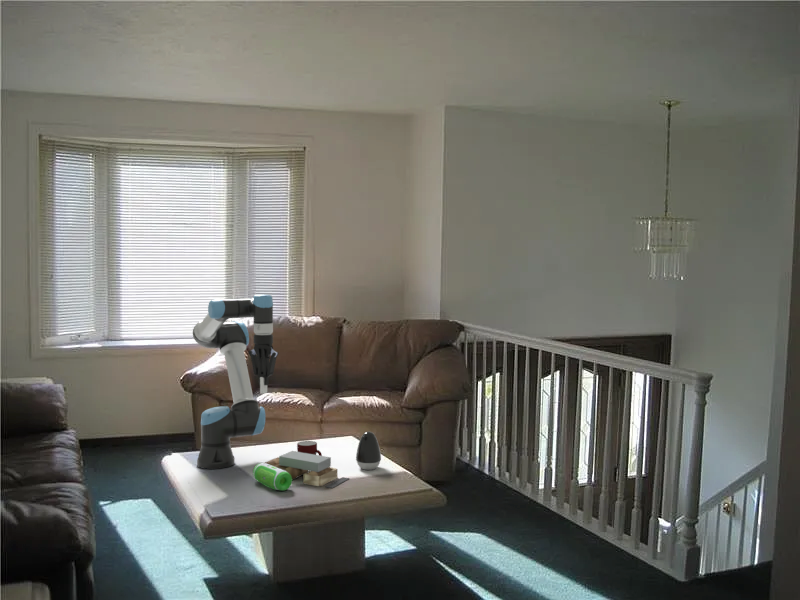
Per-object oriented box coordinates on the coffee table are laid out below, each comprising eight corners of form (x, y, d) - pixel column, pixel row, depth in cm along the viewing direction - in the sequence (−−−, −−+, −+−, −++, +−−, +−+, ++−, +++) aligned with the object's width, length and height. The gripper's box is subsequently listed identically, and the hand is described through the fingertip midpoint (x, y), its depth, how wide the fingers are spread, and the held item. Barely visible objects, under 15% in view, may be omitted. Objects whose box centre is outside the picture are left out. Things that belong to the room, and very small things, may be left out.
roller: (304, 474, 282) (314, 469, 280) (318, 467, 291) (328, 463, 289) (310, 486, 281) (320, 481, 279) (324, 479, 290) (333, 474, 288)
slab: (279, 465, 288) (279, 456, 288) (292, 459, 296) (292, 450, 296) (318, 472, 280) (318, 463, 280) (330, 466, 288) (330, 457, 288)
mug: (325, 465, 306) (325, 441, 305) (319, 470, 298) (319, 446, 297) (301, 463, 308) (301, 440, 308) (294, 469, 300) (294, 445, 300)
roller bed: (258, 475, 292) (258, 462, 292) (273, 468, 301) (273, 456, 301) (295, 481, 285) (294, 468, 284) (309, 474, 294) (309, 461, 293)
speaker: (251, 483, 283) (251, 463, 282) (268, 479, 287) (267, 460, 287) (276, 494, 270) (276, 473, 269) (293, 489, 274) (293, 469, 274)
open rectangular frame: (302, 483, 281) (302, 474, 281) (320, 474, 293) (320, 465, 293) (320, 486, 278) (320, 477, 278) (338, 477, 290) (338, 468, 289)
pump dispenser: (351, 470, 299) (351, 433, 298) (362, 463, 309) (362, 427, 308) (374, 473, 295) (374, 435, 294) (384, 466, 305) (384, 430, 304)
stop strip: (325, 487, 277) (325, 486, 277) (342, 477, 289) (342, 477, 289) (332, 488, 276) (332, 487, 276) (349, 478, 287) (349, 478, 287)
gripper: (244, 334, 291) (244, 393, 292) (271, 335, 285) (271, 396, 286) (255, 332, 297) (256, 390, 299) (282, 333, 292) (282, 392, 293)
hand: (263, 393), depth 292 cm, fingers closed
